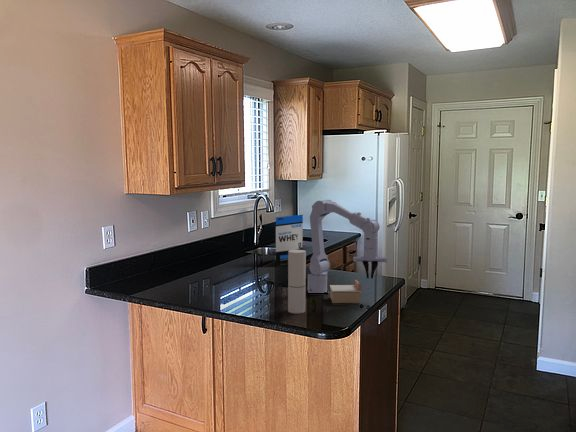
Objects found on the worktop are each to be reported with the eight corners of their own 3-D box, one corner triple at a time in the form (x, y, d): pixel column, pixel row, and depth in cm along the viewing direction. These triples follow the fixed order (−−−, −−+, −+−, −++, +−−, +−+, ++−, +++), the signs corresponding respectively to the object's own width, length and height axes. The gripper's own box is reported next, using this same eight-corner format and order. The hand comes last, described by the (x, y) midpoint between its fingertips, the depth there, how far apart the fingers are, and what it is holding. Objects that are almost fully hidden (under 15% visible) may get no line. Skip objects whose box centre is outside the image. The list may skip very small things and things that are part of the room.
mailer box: (332, 304, 208) (332, 292, 208) (330, 297, 218) (330, 287, 218) (360, 304, 209) (360, 292, 208) (356, 297, 219) (356, 287, 218)
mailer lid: (332, 292, 208) (332, 285, 207) (329, 286, 218) (329, 279, 218) (360, 292, 208) (360, 285, 208) (356, 286, 218) (357, 279, 218)
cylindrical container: (304, 308, 202) (305, 249, 199) (305, 313, 195) (306, 252, 192) (287, 308, 202) (288, 249, 199) (288, 313, 195) (288, 252, 192)
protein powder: (270, 266, 290) (270, 216, 287) (296, 260, 307) (297, 214, 304) (281, 268, 283) (281, 217, 280) (308, 262, 301) (308, 215, 298)
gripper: (385, 246, 215) (385, 276, 216) (353, 246, 216) (352, 275, 217) (387, 249, 208) (387, 279, 209) (354, 248, 209) (353, 279, 210)
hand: (369, 277), depth 213 cm, fingers closed
